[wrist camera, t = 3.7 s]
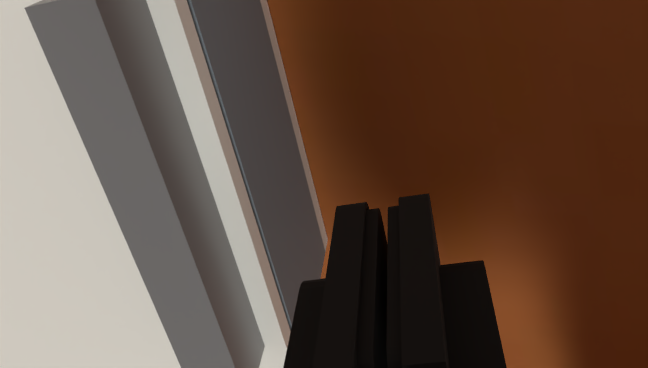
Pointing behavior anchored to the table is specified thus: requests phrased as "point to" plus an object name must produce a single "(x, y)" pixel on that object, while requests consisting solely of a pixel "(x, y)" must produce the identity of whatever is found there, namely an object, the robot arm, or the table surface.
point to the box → (264, 137)
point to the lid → (123, 197)
